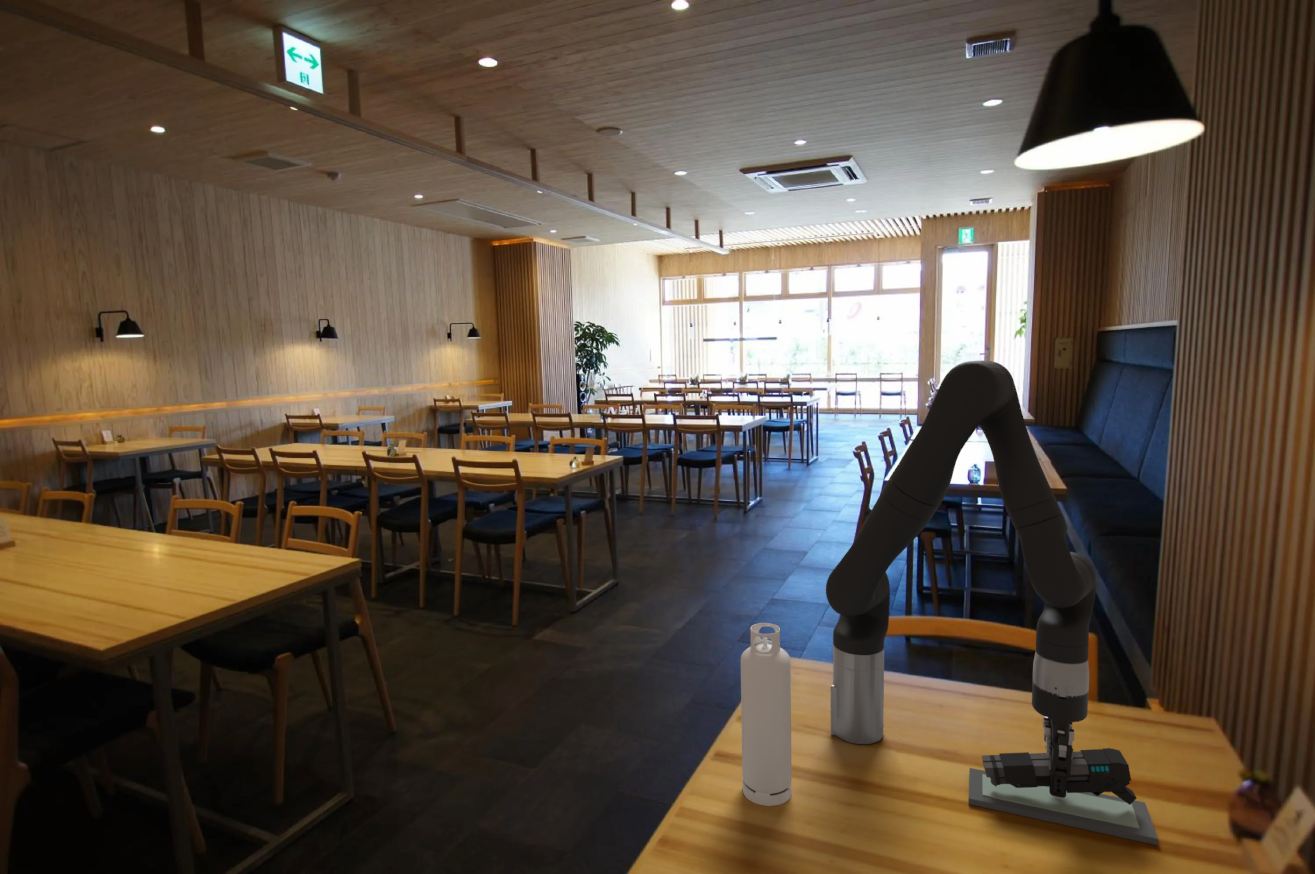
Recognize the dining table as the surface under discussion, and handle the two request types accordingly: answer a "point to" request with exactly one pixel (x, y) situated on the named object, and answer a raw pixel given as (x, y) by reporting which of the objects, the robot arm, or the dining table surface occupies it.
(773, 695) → the bottle
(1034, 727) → the dining table surface
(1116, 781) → the gun
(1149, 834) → the charging mat
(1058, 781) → the robot arm
